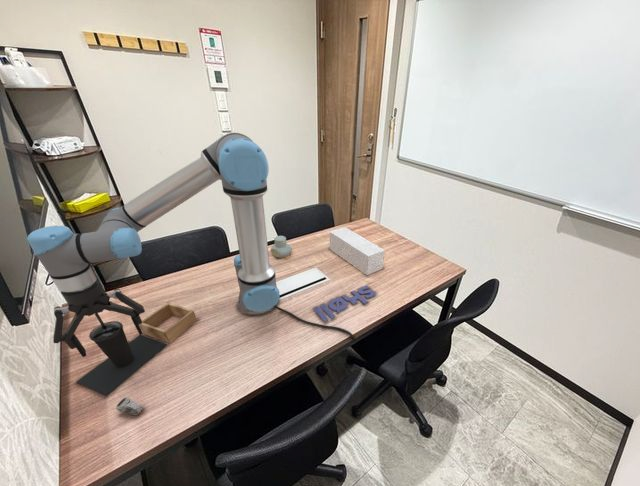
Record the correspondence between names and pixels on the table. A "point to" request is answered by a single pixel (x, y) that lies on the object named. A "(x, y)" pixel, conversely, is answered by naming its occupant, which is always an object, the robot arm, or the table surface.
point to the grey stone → (128, 402)
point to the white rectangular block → (357, 250)
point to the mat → (111, 376)
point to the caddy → (175, 330)
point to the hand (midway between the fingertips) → (113, 342)
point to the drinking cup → (112, 342)
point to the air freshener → (281, 247)
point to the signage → (343, 303)
